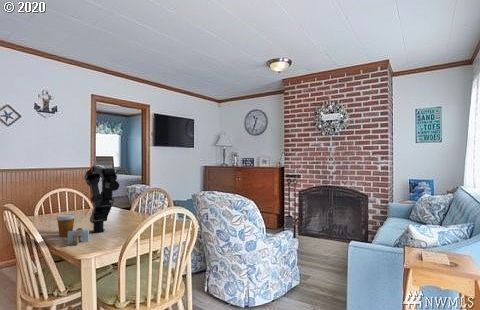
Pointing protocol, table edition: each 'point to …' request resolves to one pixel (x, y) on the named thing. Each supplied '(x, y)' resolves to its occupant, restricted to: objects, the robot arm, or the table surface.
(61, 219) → the disposable coffee cup
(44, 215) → the table surface
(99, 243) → the table surface
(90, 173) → the robot arm
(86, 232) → the notched blue slab
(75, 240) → the notched wooden post
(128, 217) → the table surface
